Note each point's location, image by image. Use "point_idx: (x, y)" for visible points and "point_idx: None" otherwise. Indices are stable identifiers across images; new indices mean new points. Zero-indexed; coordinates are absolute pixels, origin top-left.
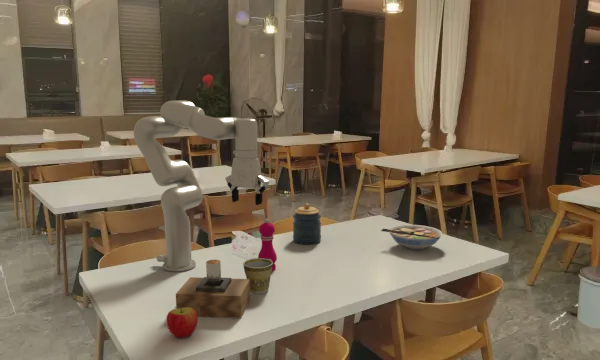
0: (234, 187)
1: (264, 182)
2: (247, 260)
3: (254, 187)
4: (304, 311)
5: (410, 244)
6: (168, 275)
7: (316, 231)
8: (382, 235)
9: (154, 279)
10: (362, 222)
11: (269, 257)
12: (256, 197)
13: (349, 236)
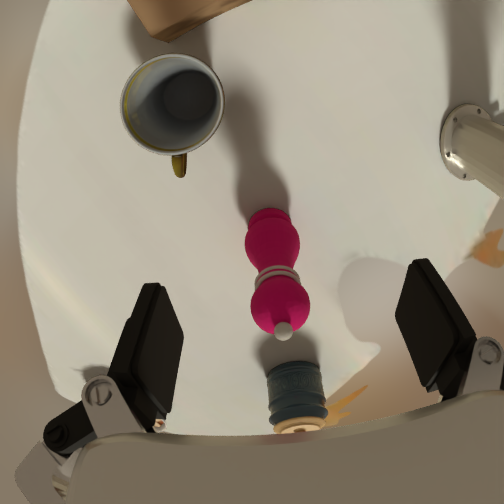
0: (467, 384)
1: (37, 485)
2: (221, 102)
3: (97, 441)
4: (41, 88)
5: None
6: (458, 81)
7: (269, 393)
8: (201, 416)
9: (465, 50)
10: (260, 434)
11: (252, 235)
12: (129, 338)
13: (240, 405)
